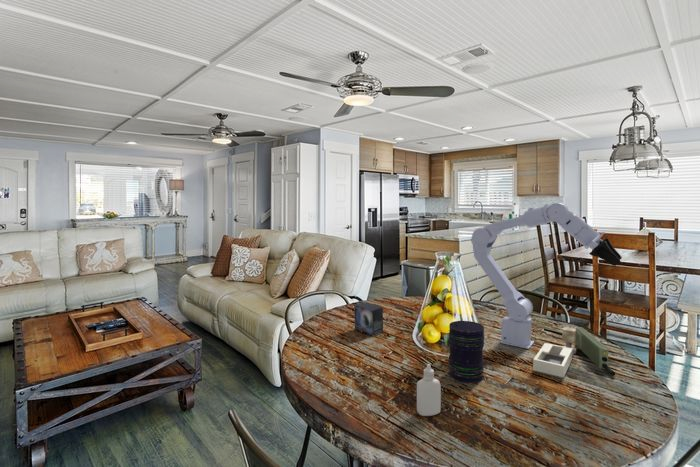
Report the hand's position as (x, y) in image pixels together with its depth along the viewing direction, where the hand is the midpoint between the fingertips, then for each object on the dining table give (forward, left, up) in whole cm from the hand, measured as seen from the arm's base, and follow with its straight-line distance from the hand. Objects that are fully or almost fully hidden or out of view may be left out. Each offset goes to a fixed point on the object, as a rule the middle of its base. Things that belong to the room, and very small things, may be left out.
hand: (618, 261), depth 115 cm
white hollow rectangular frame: (-15, -12, -32) cm, 37 cm away
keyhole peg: (-13, +2, -32) cm, 34 cm away
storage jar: (-34, -35, -32) cm, 58 cm away
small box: (-79, -21, -32) cm, 88 cm away
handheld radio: (-5, 0, -32) cm, 33 cm away
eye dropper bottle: (-34, -59, -32) cm, 75 cm away
